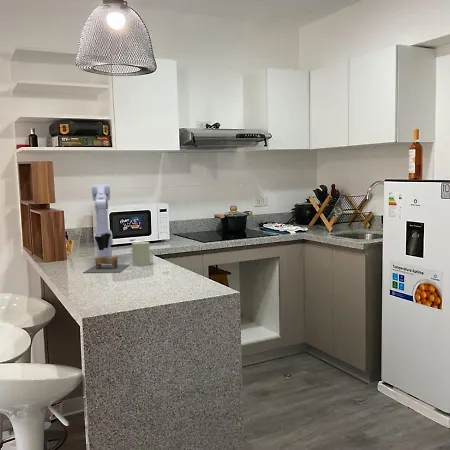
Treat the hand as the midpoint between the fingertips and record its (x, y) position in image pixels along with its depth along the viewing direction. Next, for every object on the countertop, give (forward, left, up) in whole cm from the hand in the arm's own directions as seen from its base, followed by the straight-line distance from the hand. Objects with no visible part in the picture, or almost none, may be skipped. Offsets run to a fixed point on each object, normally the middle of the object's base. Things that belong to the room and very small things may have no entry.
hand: (103, 249), depth 262 cm
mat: (+6, +3, -9) cm, 12 cm away
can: (-6, +18, -10) cm, 21 cm away
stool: (+6, +3, -9) cm, 11 cm away
